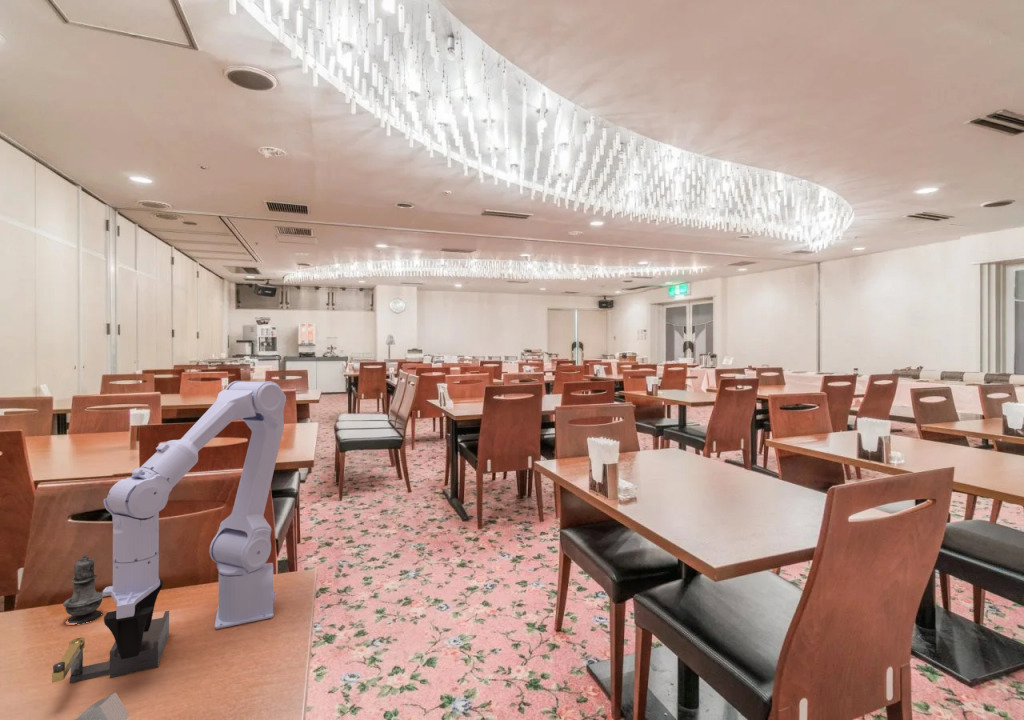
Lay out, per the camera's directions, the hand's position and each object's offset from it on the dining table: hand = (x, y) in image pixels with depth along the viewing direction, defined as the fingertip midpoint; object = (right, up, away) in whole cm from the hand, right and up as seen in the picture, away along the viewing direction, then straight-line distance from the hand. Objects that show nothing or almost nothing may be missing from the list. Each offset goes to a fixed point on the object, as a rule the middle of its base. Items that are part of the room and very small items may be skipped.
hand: (135, 643), depth 78 cm
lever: (-6, 0, -6) cm, 8 cm away
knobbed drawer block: (+4, -4, -13) cm, 14 cm away
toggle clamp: (-4, -4, +3) cm, 6 cm away
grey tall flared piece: (-21, -4, +16) cm, 27 cm away
